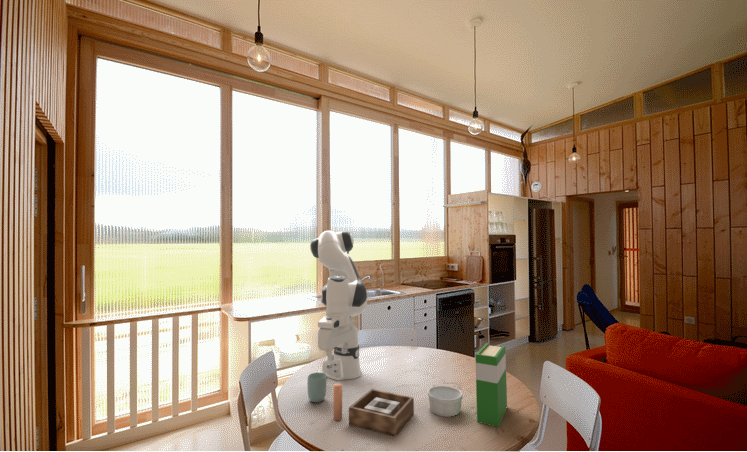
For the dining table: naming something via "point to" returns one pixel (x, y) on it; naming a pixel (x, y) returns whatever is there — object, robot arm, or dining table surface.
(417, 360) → the dining table surface
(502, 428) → the dining table surface
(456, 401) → the ramekin
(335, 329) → the robot arm
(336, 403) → the peg
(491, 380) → the hardback book
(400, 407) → the box
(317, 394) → the cup
